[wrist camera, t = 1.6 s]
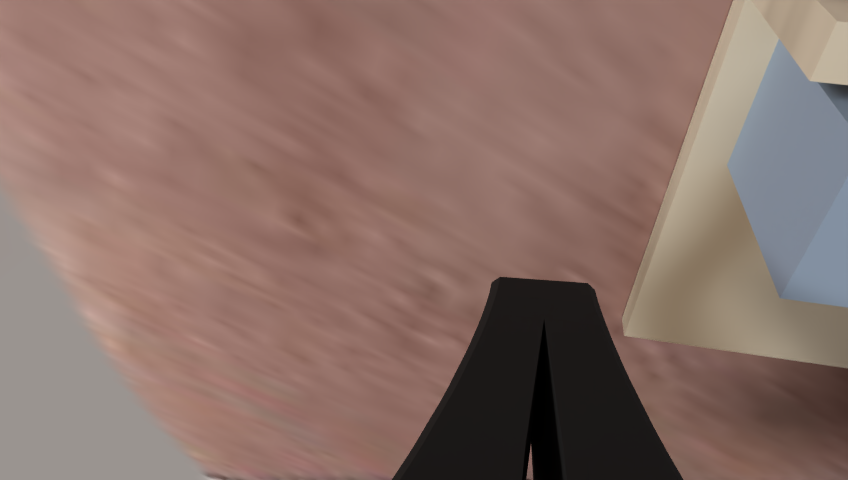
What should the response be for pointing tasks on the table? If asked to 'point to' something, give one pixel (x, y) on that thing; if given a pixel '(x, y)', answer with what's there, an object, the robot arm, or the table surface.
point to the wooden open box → (736, 204)
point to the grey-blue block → (797, 181)
